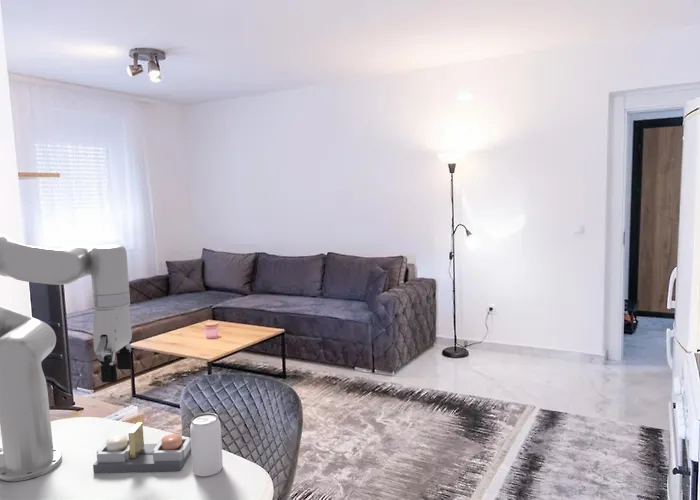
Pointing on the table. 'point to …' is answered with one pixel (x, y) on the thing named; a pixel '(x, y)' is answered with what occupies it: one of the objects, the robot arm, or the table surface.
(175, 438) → the terracotta button
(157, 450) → the panel
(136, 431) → the thick plank
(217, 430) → the can
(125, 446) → the cream button
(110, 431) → the table surface
